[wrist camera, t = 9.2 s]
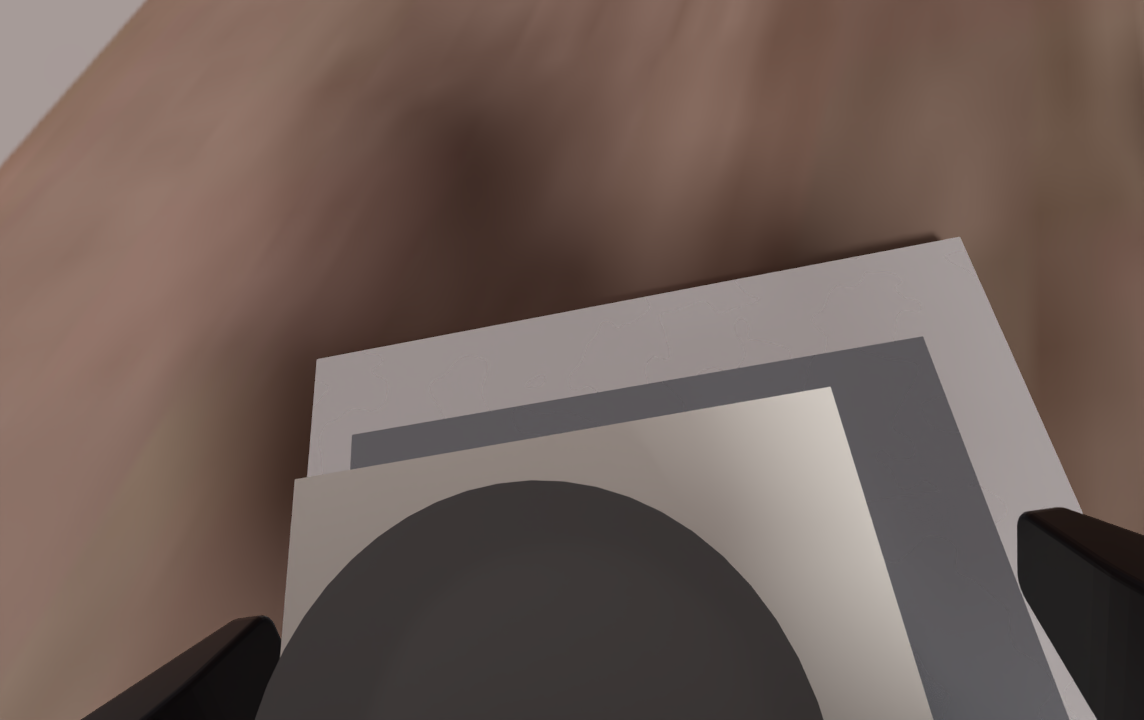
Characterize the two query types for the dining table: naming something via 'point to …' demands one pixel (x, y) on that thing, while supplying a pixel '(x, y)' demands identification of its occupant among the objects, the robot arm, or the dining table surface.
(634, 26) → the dining table surface
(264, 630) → the robot arm
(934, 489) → the grey square frame
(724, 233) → the dining table surface
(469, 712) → the plug
